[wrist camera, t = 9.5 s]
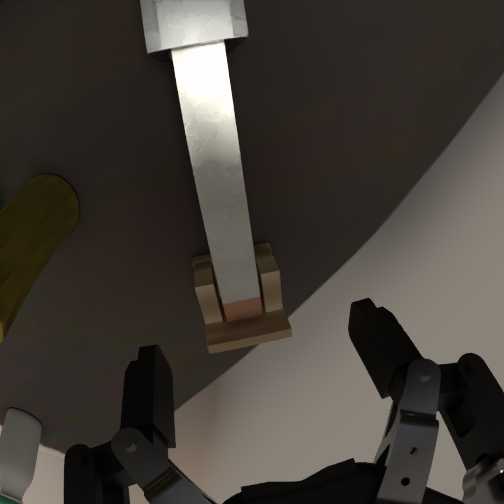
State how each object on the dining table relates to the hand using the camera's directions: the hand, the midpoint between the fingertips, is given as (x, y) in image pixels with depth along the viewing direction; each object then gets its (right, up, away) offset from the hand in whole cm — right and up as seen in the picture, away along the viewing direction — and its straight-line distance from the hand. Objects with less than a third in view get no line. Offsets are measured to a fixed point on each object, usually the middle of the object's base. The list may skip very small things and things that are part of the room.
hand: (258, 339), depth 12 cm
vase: (-18, +8, +11) cm, 22 cm away
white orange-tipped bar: (-3, +9, +11) cm, 14 cm away
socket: (-2, +2, +17) cm, 17 cm away
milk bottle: (-43, -28, +27) cm, 58 cm away
